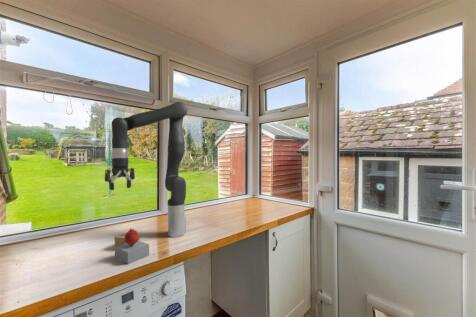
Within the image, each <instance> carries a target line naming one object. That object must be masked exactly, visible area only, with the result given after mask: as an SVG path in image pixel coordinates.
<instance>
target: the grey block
mask: <svg viewBox="0 0 476 317" xmlns="http://www.w3.org/2000/svg"><path fill="white" fill-rule="evenodd" d="M148 256H150V244H149V243H147V242H143V241H141V240H138V241H137V242H136V243H135V244H134V245H133V246H130V245H129V244H127V243H125V244H123V245H120V246H117V247H115V246H114V259H115V260H116V261H120V262H121V263H124V264H126V265H130V264H132V263H134V262H137V261H139V260H141V259H143V258H146V257H148Z"/></svg>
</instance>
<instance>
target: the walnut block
mask: <svg viewBox="0 0 476 317" xmlns="http://www.w3.org/2000/svg"><path fill="white" fill-rule="evenodd" d="M127 232H128V231H126V232H123V233H120V234H118V235H115V236H114V248H115V247H117V246H120V245H123V244H125V243H126V242H125V235H126V233H127Z"/></svg>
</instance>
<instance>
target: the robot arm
mask: <svg viewBox="0 0 476 317" xmlns="http://www.w3.org/2000/svg"><path fill="white" fill-rule="evenodd" d="M187 106H188V105H186V104H185V103H184V102H182V101H175V102H173V103H172V104H170V105H167V106H163V107H160V108H158V109H157V108H156V109H153V110H147V111H144V112H139V113H135V114H132V115H130V116H126V117H120V116H119V117H115V118H114V119H112V121H111V134H112V138H111V169H108V168H107V169H105V170H104V182H107V183H108V187H109V190H110V191H114V190H115V183H114V182H115V181H116V180H117V178H124V179H125V180H126V188H127V189H131V187H132V181H133V180H135V177H136V176H135V168H134V167H129V150H128V149H129V148H128V147H129V146H128V144H129V143H128V131H131V130H134V129H137V128H138V129H139V128H142V127H145V126H149V125H153V124H155V123H157V122H160V121H163V120H167V119H168V120H169V130H168V139H167V140H168V141H167V160H166V162H167V163H166V172H165V179H164V187H165V189H166V190H167V191H168V192H170V198H168V199H167V236H168V237H170V238H179V237H183V236H184V235H185V234H186V233H187V217H186V216H185V201H186V197H187V182H186V180H185V178H184V177H182V176H179V170H180V166H181V165H180V164H181V162H182V160H183V157H184V155H185V138H184V132H183V122H184V121H183V120H184V118H185V116H186V115H187V113H188V107H187Z"/></svg>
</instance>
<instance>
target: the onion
mask: <svg viewBox="0 0 476 317" xmlns="http://www.w3.org/2000/svg"><path fill="white" fill-rule="evenodd" d="M129 228H130V229H129V230H128V231H126V232H127V233H126V235H125V242H126V243H127V244H129V245H130V246H133V245H134V244H135V243H136V242H137V241H140V234H139V232H138V231H137V230H135V229H134V228H133V227H129Z"/></svg>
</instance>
